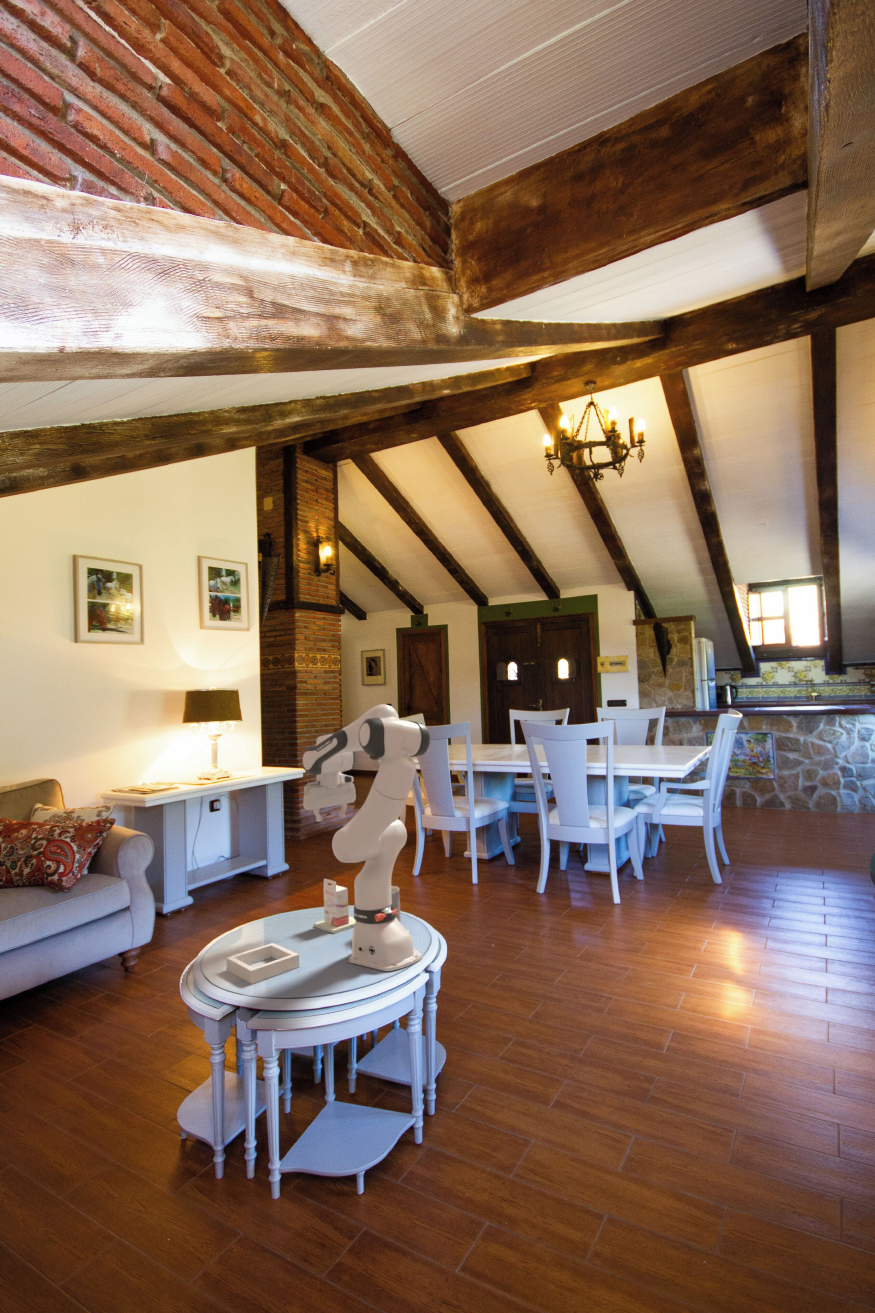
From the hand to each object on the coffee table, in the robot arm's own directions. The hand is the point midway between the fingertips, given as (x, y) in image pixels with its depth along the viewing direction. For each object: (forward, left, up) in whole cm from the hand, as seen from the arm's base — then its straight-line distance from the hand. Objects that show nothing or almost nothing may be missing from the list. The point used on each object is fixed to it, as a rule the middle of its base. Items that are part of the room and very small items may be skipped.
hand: (330, 819), depth 231 cm
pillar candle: (-24, -4, -35) cm, 43 cm away
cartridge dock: (-19, +38, -35) cm, 55 cm away
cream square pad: (-5, +2, -35) cm, 36 cm away
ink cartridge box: (-5, +3, -34) cm, 35 cm away
